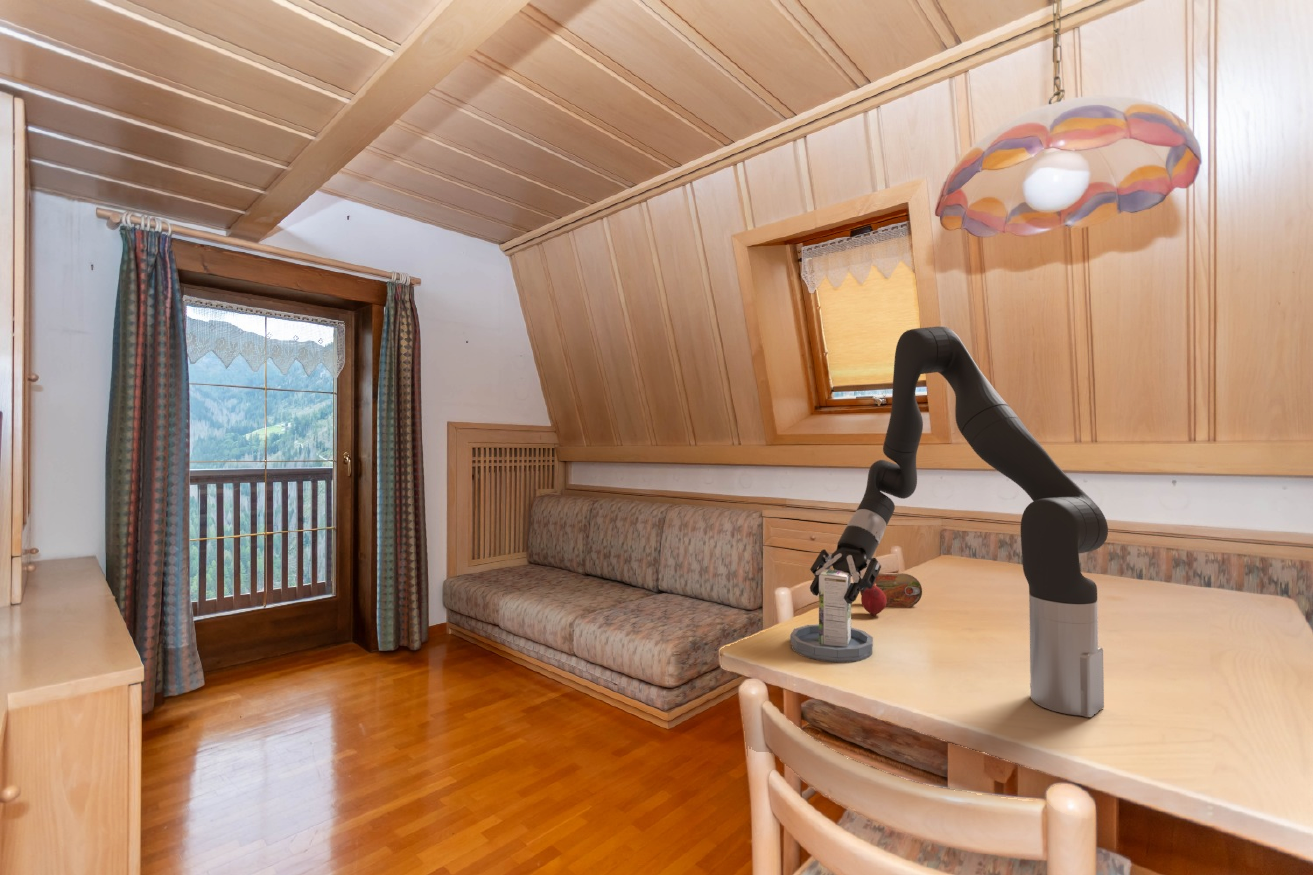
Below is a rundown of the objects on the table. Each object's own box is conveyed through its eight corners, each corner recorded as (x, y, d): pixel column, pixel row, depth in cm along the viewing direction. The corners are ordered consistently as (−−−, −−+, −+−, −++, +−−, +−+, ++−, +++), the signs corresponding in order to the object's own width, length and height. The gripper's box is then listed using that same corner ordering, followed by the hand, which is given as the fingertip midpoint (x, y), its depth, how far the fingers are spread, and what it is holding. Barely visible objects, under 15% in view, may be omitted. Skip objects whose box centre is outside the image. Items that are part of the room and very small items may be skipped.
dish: (888, 649, 126) (888, 637, 126) (839, 668, 116) (839, 655, 116) (824, 631, 139) (824, 619, 139) (775, 646, 129) (775, 634, 129)
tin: (860, 606, 159) (860, 573, 159) (858, 603, 162) (858, 570, 162) (922, 608, 156) (922, 574, 156) (919, 604, 160) (919, 572, 160)
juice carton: (823, 636, 132) (822, 568, 132) (852, 639, 130) (851, 570, 130) (818, 644, 127) (817, 573, 127) (848, 648, 124) (847, 576, 124)
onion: (888, 619, 147) (888, 585, 147) (863, 618, 148) (862, 585, 148) (884, 612, 153) (884, 580, 153) (860, 611, 154) (859, 579, 154)
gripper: (827, 521, 138) (794, 580, 131) (884, 527, 127) (851, 593, 120) (842, 542, 142) (810, 601, 135) (899, 550, 130) (868, 615, 123)
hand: (829, 597), depth 127 cm, fingers open, 8 cm apart
